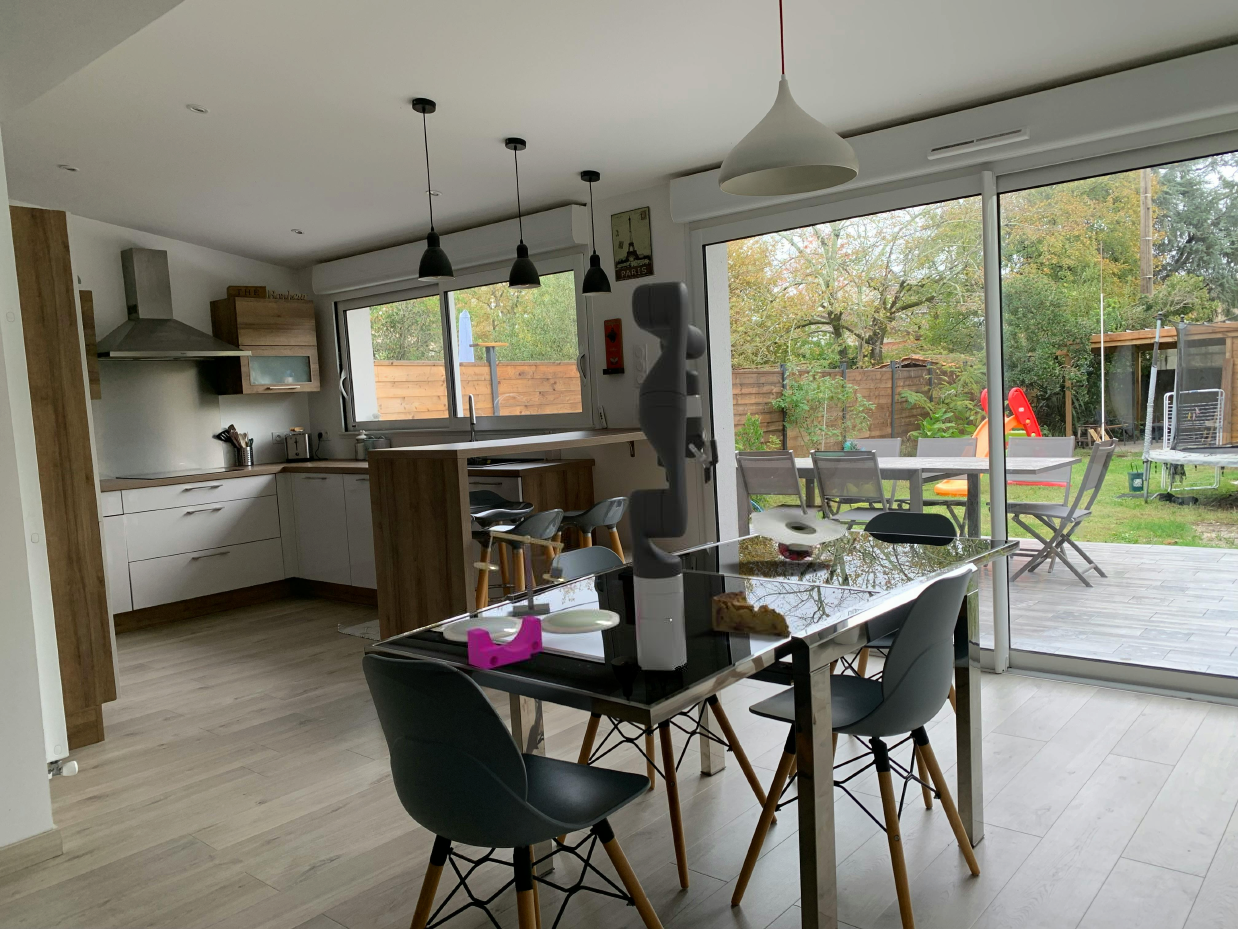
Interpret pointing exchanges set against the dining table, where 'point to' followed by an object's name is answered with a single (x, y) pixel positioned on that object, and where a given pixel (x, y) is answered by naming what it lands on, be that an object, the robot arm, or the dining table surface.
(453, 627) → the grey dish
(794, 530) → the flower planter
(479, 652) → the toy block
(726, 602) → the pie slice
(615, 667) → the dining table surface
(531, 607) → the balance stand
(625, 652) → the dining table surface
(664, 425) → the robot arm
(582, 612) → the sage dish
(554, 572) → the balance beam
